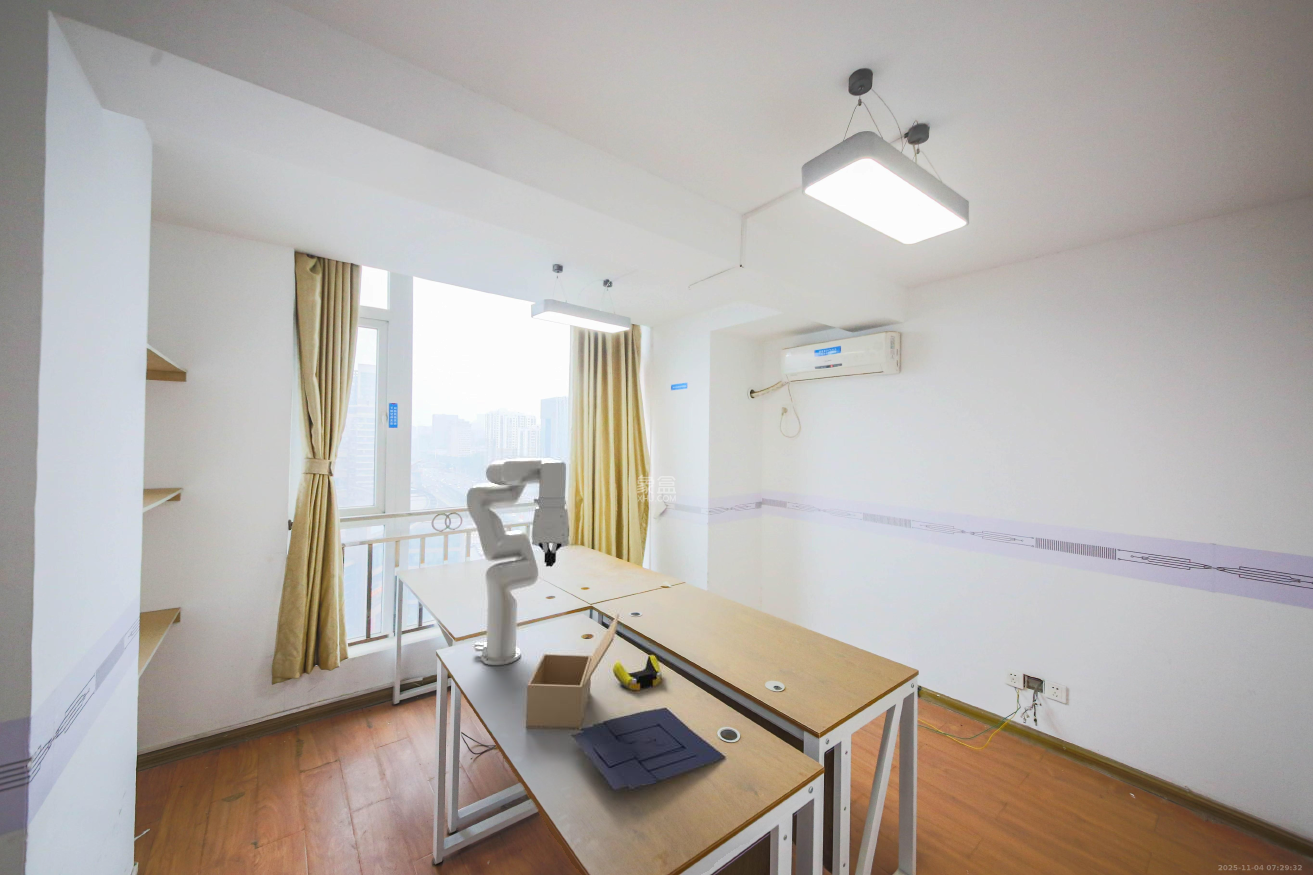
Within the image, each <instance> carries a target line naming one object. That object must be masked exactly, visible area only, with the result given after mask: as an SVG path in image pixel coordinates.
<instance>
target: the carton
mask: <svg viewBox="0 0 1313 875" xmlns="http://www.w3.org/2000/svg"><path fill="white" fill-rule="evenodd" d="M591 659H592V655H589V654H588V655H584V654H560V653H559V654H556V653H555V654H554V653H553V654H552V653H550V654H549V653H543V654H542V657H541V658H540V660H539V662H538V664H537V666H536V668H535V670H534V671H533V674H532V676H531V677H530V679H529V681H528V684H527V685H526V688H527V689H526V711H525V712H526V713H525V714H526V715H525V719H526V720H525V728H526V729H548V730H549V729H550V730H573V731H574V730H579V731H580V730H581V729H582V725H583V722H584V719H585V718H584V717H585V715H586V711H587V707H588V703H589V699H590V696H591V678H592V676H591V677H590V679H589V681H588V682H587V684H586V686H584V682H585V679H586V675H587V672H588V669H589V665H590V662H591ZM581 731H582V730H581Z"/></svg>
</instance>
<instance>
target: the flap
mask: <svg viewBox="0 0 1313 875" xmlns="http://www.w3.org/2000/svg"><path fill="white" fill-rule="evenodd" d="M619 615H620V614H618V613H617V614H616V615H615V618H614V619H613V621H612V622H611V624H610V625H609V627H608V629H607V630H606V632H605V634H604V635H603V637H602V639H601V640H600V642H599V644H598V645H597V647H596V648H595V650H594V652H593V653H592V655H591V662H590V665H589V669H588V672H587V675H586V679H585V682H584V686H586V684H587V682H588V681H589V679H590V677H591V678H592V676H593V673H595V670H596V669H597V667H598V666H599V664H600V663H601V661H602V659H603V658H604V656H605V655H606V653H607V651H608V649H609V647H611V646H612V645H611V644H612V643H613V641H614V640H615V634H616V631H617V627H618V626H617V625H618V622H619V617H620V616H619Z"/></svg>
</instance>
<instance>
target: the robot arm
mask: <svg viewBox="0 0 1313 875" xmlns="http://www.w3.org/2000/svg"><path fill="white" fill-rule="evenodd" d="M485 476H486V479H487V480H488V481H489V483H481V484H476V485H474V486H471V487H470V488H469V490H468V491H467V493H466V506H467V510H468V513H469V515H470V517H471V519H472V521H473V522H474V524H475V526H476V530H477V533H478V537H479V542H480V546H481V549H482V552H483V556H484V558H485V559H486V560H487V561H488V562H498V563H494V564H493V565H491V566H490V567H489V568H488V569H487V570H486V572H485V576H484V579H485V581H484V582H485V586H486V594H487V595H486V596H487V608H486V609H487V611H486V612H487V615H486V617H487V619H486V641H485V642H475V643H474V646H473V649H474V651H475V652H481V655H480V661H481V662H482V663H483V664H486V665H489V666H502V665H503V666H504V665H509V664H512V663H514V662H515V661H517V660H518V659H519V658H520V657H521V649H520V648H519V647H517V628H518V626H517V625H518V624H517V622H518V603H517V599H516V598H515V597H514V595H513V594H512V591H515V590H518V589H522V588H526V587H530V586H531V587H532V586H533V585H535V583H537V581H538V580H539V579H538V578H539V569H538V564H537V561H536V557H535V554H534V551H533V547H532V545H533V546H536V547H539V549H541V550H542V552H543V553H544V561H543V562H544V564H545V567H550V568H551V567H553V566H554V564H555V563H556V561H557V551H558V550H559V549H560V548H562V547H567V546H569V545H570V540H569V536H570V524H569V523H570V521H569V511H568V508H567V506H566V485H567V484H566V481H567V465H566V462H564V461H562V460H554V459H551V458H513V459H504V460H503V459H502V460H501V459H500V460H496V461H493V462H492V463H490V464H489V465H488V467H487V468H486V471H485ZM528 484H531V485H532V484H539V487H538V488H539V490H538V496H537V498H533V503H534V504H537V507H535V510H534V514H533V520H532V529H531V530H532V531H531V540H532V541H530V539H529V536H528V535H527V533H526V532H524V531H522V530H511V531H506V530H505V527H504V525H503V521H502V519H501V518H500V516H499V515H498V513H496V512H494V511H493V509H491V508H497V507H499V508H500V507H509V506H513V505H516V503H518V501H519V500H520V498H521V497H522V494H523V493H524V490H525V489H526V487H527V485H528ZM565 506H566V507H565ZM550 544H552V546H551V549H550ZM512 559H514V560H512ZM505 560H506V561H505ZM507 560H509V561H507ZM499 561H502V562H499ZM503 561H504V562H503Z"/></svg>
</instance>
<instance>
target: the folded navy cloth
mask: <svg viewBox="0 0 1313 875" xmlns="http://www.w3.org/2000/svg"><path fill="white" fill-rule="evenodd" d="M570 736H571V737H572V738H573V740H574V741H575V742H576V743H577V745H578V746H579V747H580V748H581V750H583V752H584V753H585V754H586V755H587V757H588V758H589V759H590V760H591V762H592V763H593V764H594V766H596V768H597V769H598V771H599V772H600V773H601V774H602V776H603V777H604V779H605V780H606V781H607V782H608V784H609V785H610V786H611V787H612V788H613V790H614V791H616V790H618V789H622V788H625V787H628V786H629V788H630V790H632V789H634V788H635V789H636V788H638V787H641V786H649V785H652V784H655V783H657V782H660V781H662V780H665V779H668V778H671V777H673V776H676V775H679V774H681V773H685V772H688V771H690V770H694V769H696V768H699V767H701V766H704V765H708V764H712V763H714V762H717V761H719V760H721V759H724V758H726V756H725V755H724V754H723V753H721V752H720V751H719V750H717V749H716V748H715V747H714V746H713V745H711V744H710V743H709V742H707V741H706V740H705V739H703V738H702V737H700V736H699V735H698V734H697V733H696V732H694V730H692V729H691V728H689V726H688V725H686V724H685V723H684V721H682V720H680V718H678V716H676V715H675V714H674V713H673V712H671V710H669V709H668V708H667V707H662V708H655V709H651V710H643V711H639V712H635V713H632V714H627V715H624V716H620V717H616V718H612V719H607V720H603V721H602V722H597V723H595V724H592V725H591V726H586V727H584V728H581V732H578V733H573V734H570Z"/></svg>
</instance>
